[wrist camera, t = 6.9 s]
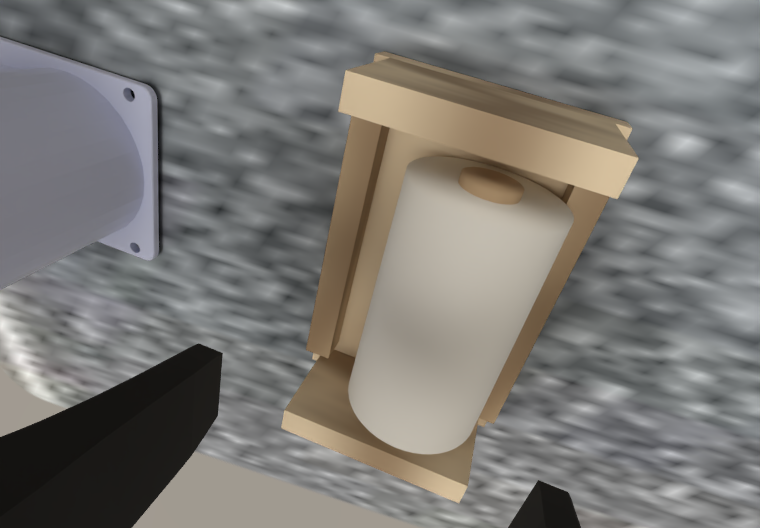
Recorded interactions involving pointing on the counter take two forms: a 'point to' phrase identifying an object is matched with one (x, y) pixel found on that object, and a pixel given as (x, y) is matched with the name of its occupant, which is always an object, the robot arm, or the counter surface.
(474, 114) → the holder
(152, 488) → the robot arm
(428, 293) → the paper roll
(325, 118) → the counter surface
